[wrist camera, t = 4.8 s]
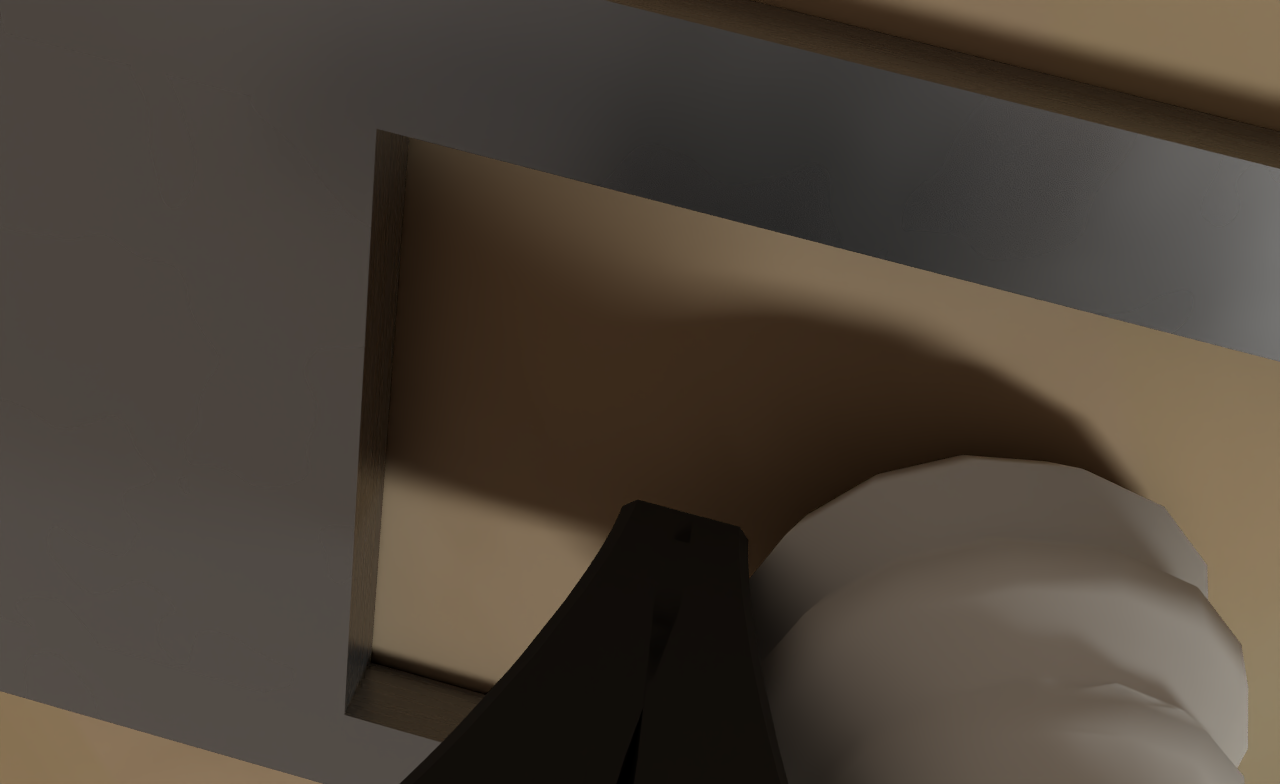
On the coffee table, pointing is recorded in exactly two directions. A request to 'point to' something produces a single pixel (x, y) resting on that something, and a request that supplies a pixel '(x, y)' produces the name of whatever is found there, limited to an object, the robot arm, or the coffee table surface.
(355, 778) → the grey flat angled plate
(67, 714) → the coffee table surface
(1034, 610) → the rook chess piece
